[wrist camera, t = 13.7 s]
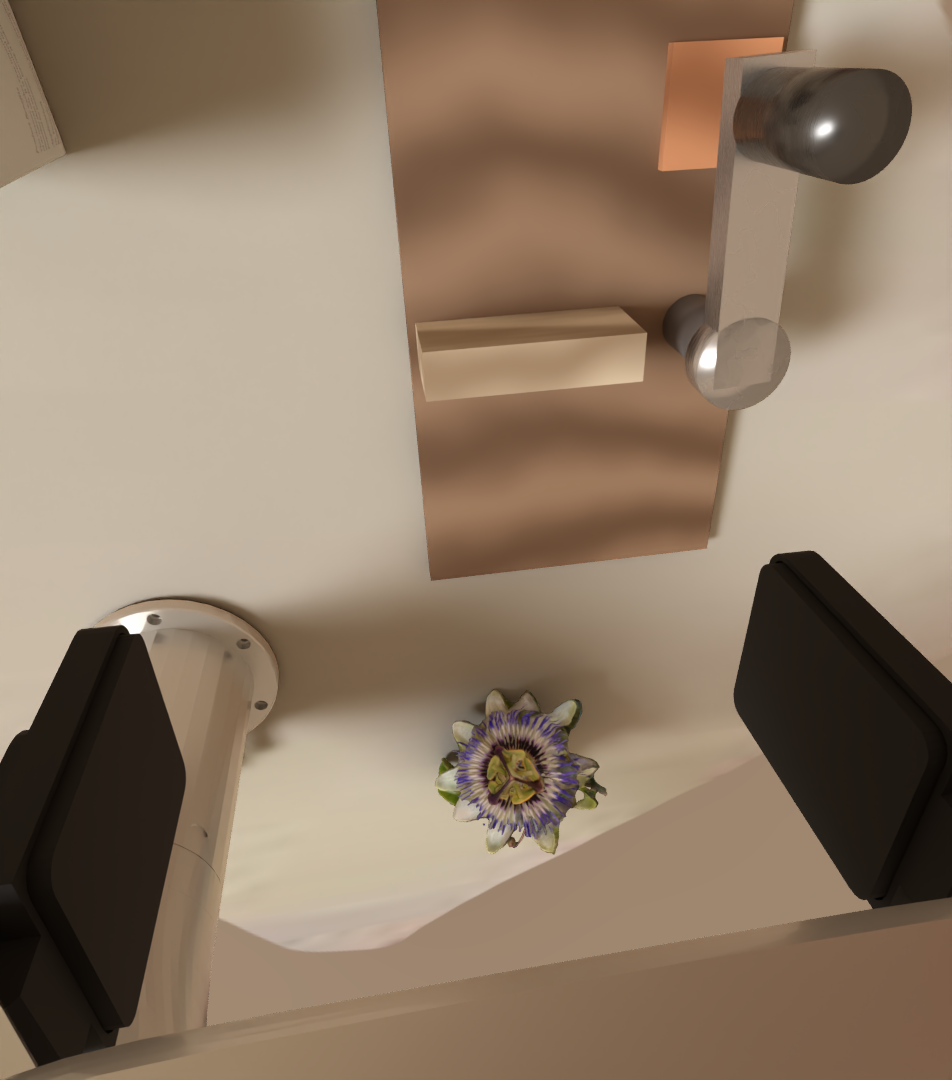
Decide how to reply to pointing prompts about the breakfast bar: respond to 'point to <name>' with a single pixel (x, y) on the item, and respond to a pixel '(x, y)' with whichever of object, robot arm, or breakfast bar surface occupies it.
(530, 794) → the passion flower
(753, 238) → the crank handle
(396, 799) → the breakfast bar surface
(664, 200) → the jamb plate
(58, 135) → the skincare box
